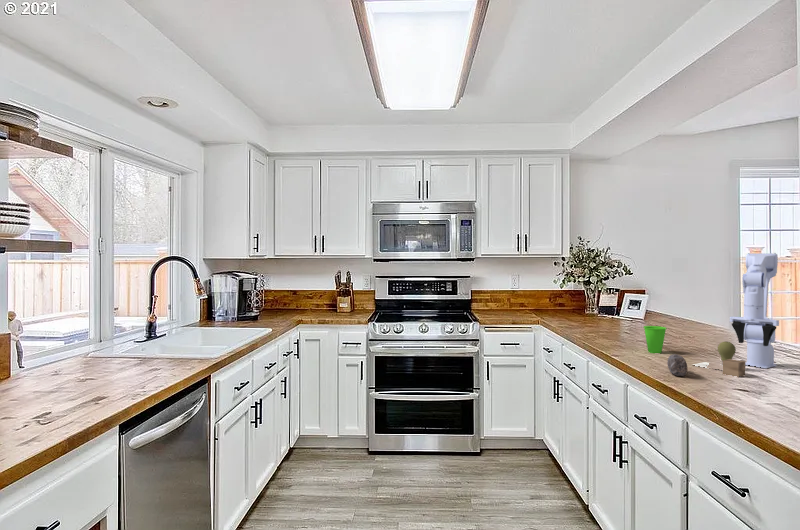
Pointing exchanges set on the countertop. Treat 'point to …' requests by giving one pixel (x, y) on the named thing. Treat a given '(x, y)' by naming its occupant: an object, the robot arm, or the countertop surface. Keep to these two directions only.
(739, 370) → the walnut block
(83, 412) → the countertop surface
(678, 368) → the perforated stone tool
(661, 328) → the cup
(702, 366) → the letter
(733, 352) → the light bulb
